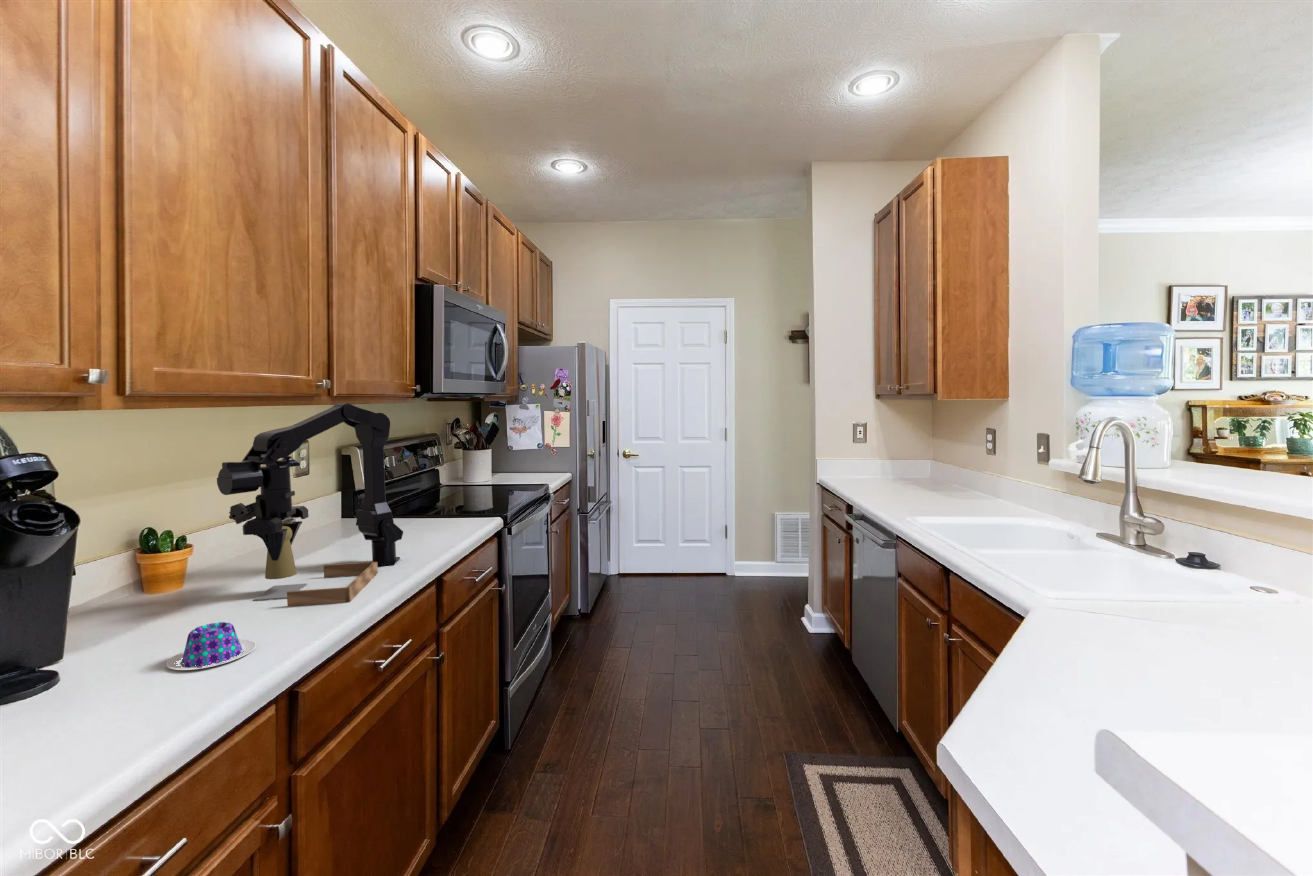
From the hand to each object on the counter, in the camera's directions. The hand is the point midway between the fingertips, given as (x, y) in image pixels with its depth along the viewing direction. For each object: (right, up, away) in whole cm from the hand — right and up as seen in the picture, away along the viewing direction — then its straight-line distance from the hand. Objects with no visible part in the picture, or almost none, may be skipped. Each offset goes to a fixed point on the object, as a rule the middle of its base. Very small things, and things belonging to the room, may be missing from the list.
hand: (280, 557), depth 131 cm
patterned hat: (+10, -10, -33) cm, 36 cm away
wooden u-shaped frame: (+11, -8, +3) cm, 14 cm away
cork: (0, -4, 0) cm, 4 cm away
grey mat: (0, -8, 0) cm, 8 cm away
